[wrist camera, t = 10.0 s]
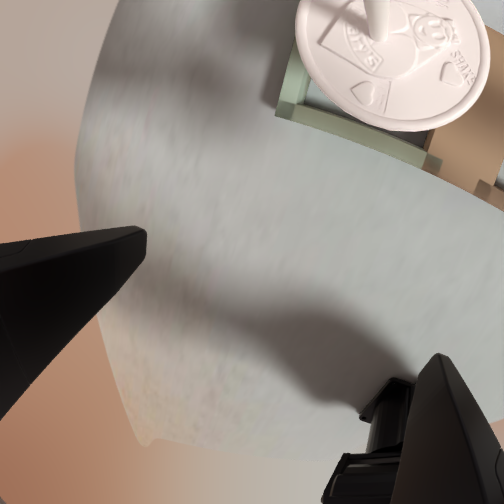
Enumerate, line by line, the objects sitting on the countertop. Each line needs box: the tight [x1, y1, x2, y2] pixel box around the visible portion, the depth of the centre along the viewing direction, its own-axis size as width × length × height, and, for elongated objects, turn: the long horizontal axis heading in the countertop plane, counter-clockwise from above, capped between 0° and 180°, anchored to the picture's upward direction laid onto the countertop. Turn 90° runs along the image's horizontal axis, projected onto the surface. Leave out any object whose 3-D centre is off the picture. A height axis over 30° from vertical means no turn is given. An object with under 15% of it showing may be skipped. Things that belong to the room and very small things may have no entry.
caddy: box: [275, 25, 504, 212], centre depth 13 cm, size 10×22×2 cm, turn 75°
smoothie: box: [295, 0, 490, 132], centre depth 9 cm, size 6×6×14 cm
